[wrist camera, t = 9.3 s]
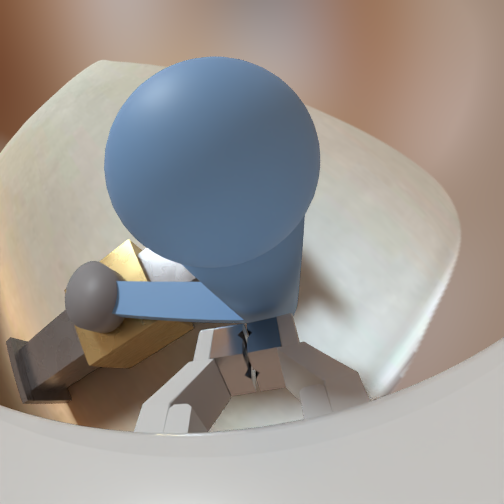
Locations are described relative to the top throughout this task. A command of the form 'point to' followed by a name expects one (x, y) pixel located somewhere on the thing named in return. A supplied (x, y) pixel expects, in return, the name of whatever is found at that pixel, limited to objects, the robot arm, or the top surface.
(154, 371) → the top surface
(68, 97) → the top surface
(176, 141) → the lever
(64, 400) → the valve pipe
